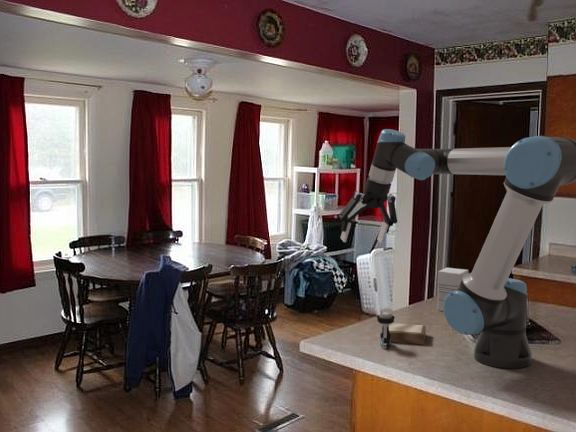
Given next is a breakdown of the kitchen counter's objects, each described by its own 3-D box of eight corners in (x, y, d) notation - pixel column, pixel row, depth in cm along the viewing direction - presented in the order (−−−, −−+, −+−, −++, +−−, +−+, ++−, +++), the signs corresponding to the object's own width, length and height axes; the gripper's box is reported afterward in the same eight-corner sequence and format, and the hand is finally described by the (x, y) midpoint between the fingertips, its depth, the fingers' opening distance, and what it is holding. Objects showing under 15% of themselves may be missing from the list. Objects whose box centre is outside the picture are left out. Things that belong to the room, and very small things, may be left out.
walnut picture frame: (425, 334, 184) (425, 324, 184) (423, 344, 175) (423, 333, 175) (387, 331, 188) (387, 322, 188) (384, 341, 178) (384, 330, 178)
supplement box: (445, 305, 221) (445, 267, 219) (468, 308, 216) (469, 269, 214) (436, 310, 214) (437, 270, 212) (460, 314, 208) (460, 273, 207)
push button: (393, 350, 169) (393, 317, 168) (375, 349, 171) (375, 316, 170) (394, 343, 176) (395, 311, 175) (377, 342, 177) (377, 310, 176)
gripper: (407, 177, 184) (389, 236, 192) (338, 171, 174) (322, 234, 182) (420, 187, 178) (400, 247, 186) (349, 181, 168) (331, 245, 176)
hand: (361, 240), depth 184 cm, fingers open, 13 cm apart
